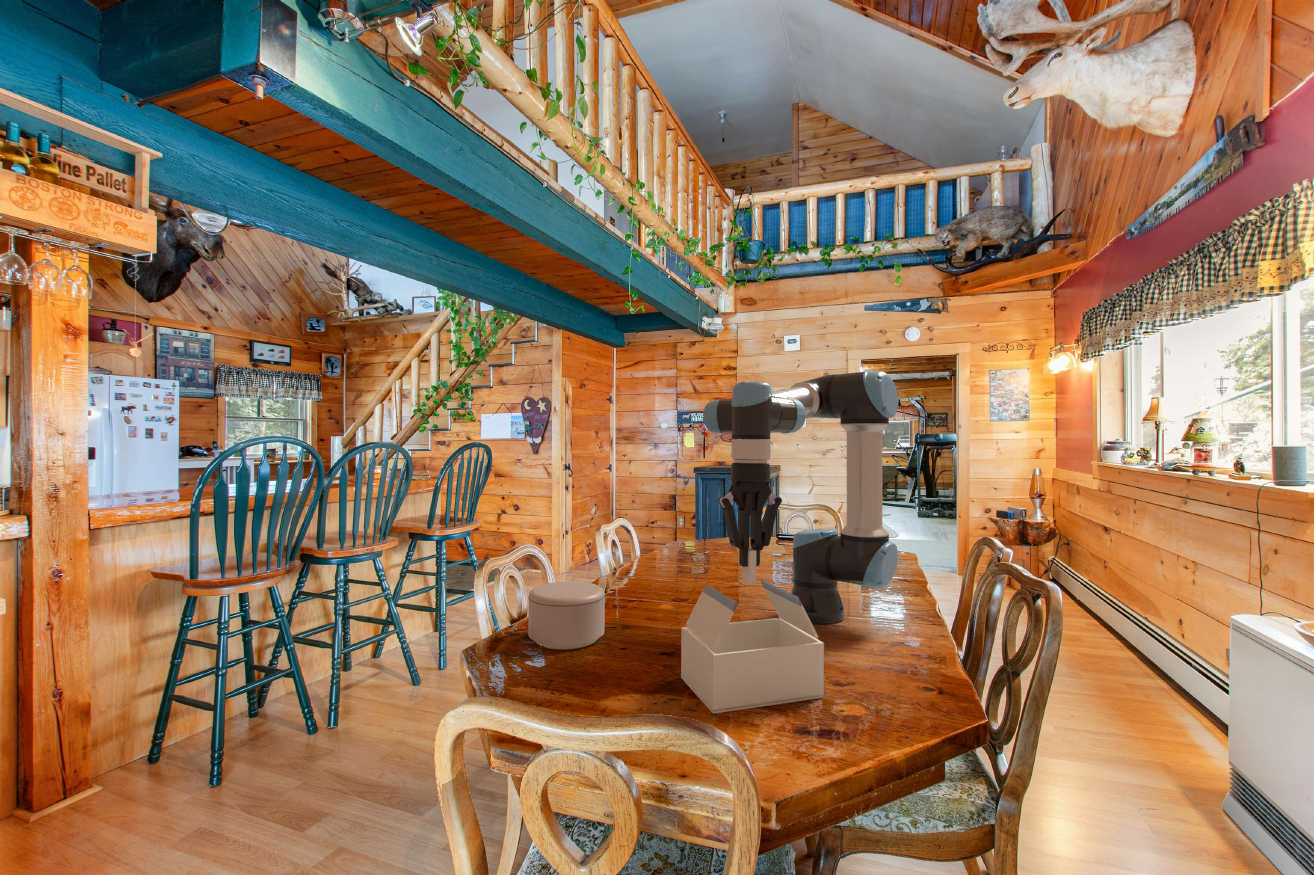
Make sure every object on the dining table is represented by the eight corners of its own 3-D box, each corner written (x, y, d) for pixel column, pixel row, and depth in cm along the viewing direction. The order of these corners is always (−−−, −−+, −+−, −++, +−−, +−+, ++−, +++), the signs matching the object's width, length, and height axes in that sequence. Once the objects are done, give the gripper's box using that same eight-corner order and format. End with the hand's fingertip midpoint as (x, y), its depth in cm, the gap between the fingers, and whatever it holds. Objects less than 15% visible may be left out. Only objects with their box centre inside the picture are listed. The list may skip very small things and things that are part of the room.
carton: (779, 665, 124) (780, 617, 124) (823, 697, 108) (823, 643, 108) (681, 677, 117) (681, 627, 117) (712, 713, 102) (713, 655, 102)
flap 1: (707, 585, 118) (705, 584, 118) (738, 603, 104) (736, 602, 104) (687, 625, 116) (685, 624, 116) (715, 649, 103) (713, 648, 103)
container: (553, 658, 127) (554, 603, 127) (514, 636, 141) (514, 587, 141) (619, 639, 139) (620, 590, 139) (577, 622, 153) (577, 576, 153)
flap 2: (778, 617, 122) (780, 615, 123) (816, 638, 109) (818, 637, 109) (760, 581, 121) (762, 579, 121) (796, 598, 108) (798, 597, 108)
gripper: (771, 461, 121) (769, 577, 120) (712, 460, 117) (710, 580, 116) (790, 462, 113) (788, 585, 113) (728, 462, 109) (726, 589, 109)
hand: (749, 582), depth 115 cm, fingers closed
